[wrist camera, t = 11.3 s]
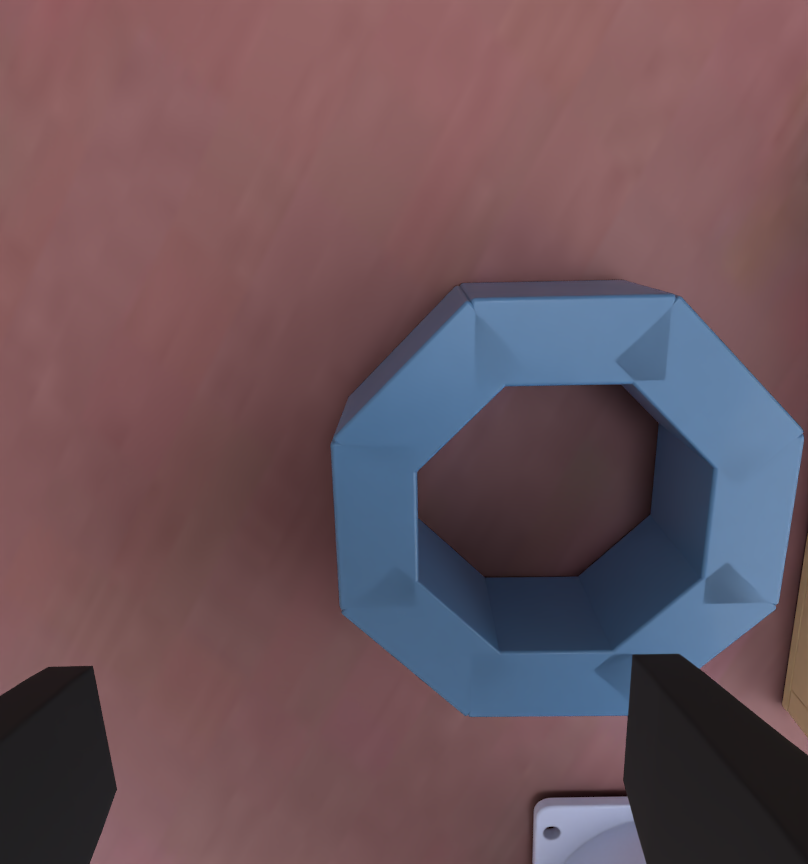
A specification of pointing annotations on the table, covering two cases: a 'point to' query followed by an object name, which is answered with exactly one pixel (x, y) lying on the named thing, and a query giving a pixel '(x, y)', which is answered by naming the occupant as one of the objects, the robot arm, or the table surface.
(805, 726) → the tray
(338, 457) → the ring
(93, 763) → the robot arm
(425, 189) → the table surface
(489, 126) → the table surface
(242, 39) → the table surface
